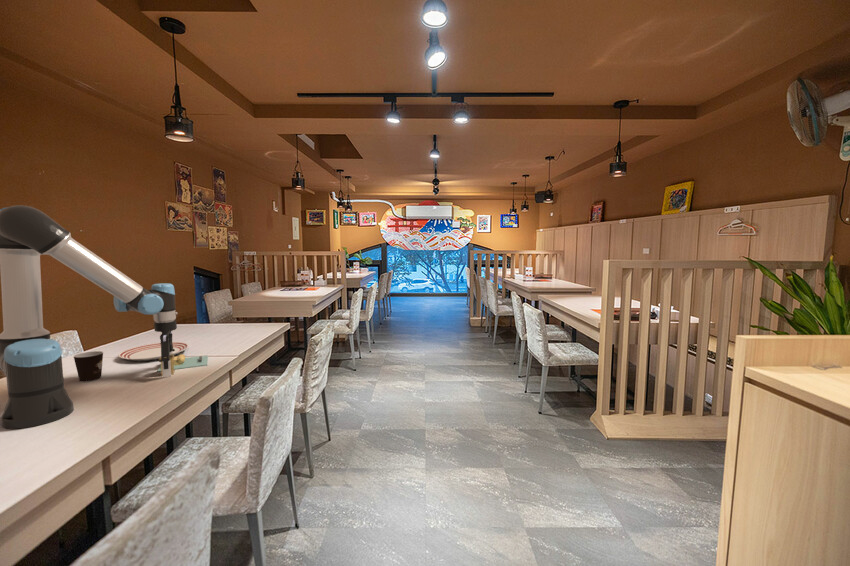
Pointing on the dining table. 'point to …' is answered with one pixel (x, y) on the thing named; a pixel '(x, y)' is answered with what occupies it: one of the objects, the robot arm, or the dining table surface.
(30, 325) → the robot arm
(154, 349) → the dinner plate
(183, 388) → the dining table surface
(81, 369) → the coffee mug
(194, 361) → the hinge base
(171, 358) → the yellow tan block
